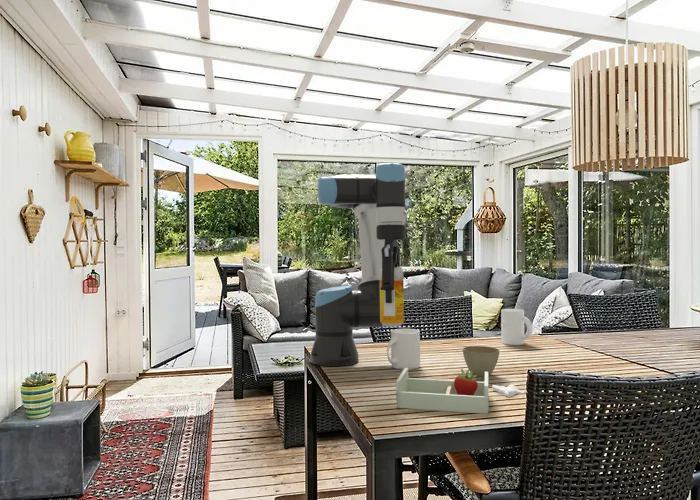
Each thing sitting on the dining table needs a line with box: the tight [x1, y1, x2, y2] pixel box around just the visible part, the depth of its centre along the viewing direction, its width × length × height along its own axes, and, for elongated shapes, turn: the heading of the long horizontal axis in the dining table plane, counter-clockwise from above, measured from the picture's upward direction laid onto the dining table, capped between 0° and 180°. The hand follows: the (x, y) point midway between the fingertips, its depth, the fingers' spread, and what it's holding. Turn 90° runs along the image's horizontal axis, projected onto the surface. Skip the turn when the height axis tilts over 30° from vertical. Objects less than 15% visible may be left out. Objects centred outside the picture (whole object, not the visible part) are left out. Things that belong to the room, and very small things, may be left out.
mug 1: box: [386, 328, 421, 371], centre depth 158 cm, size 9×12×11 cm
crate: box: [395, 368, 490, 415], centre depth 123 cm, size 20×13×6 cm, turn 75°
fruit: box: [454, 368, 478, 396], centre depth 122 cm, size 5×5×8 cm
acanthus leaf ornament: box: [491, 384, 527, 398], centre depth 131 cm, size 8×7×2 cm
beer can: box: [380, 266, 405, 328], centre depth 137 cm, size 6×6×15 cm
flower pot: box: [462, 345, 501, 378], centre depth 149 cm, size 10×10×7 cm
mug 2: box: [500, 308, 534, 346], centre depth 193 cm, size 8×12×12 cm
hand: (391, 313), depth 137 cm, fingers closed on beer can, 6 cm apart
